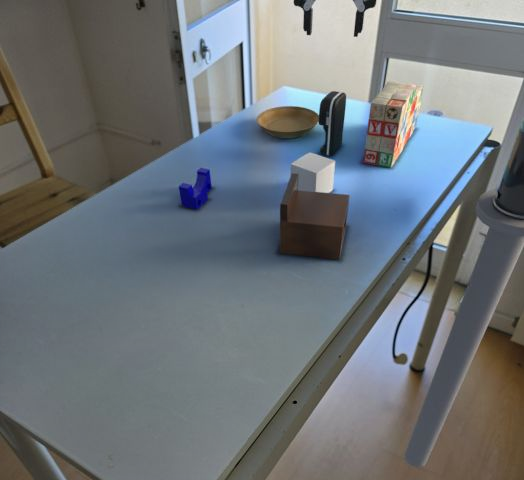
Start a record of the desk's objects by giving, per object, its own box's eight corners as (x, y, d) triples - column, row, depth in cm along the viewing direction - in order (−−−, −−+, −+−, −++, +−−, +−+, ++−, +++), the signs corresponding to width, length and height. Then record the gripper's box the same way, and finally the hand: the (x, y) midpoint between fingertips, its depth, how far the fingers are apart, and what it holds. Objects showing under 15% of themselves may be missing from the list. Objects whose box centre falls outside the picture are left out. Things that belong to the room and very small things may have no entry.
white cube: (290, 193, 93) (290, 163, 89) (308, 181, 96) (309, 152, 92) (315, 203, 90) (316, 173, 86) (332, 190, 93) (335, 160, 89)
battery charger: (326, 141, 108) (330, 87, 100) (342, 144, 107) (347, 89, 98) (314, 154, 104) (317, 98, 96) (331, 157, 103) (335, 101, 94)
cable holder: (197, 209, 90) (194, 190, 87) (181, 205, 91) (178, 186, 88) (218, 190, 95) (216, 170, 92) (203, 186, 96) (200, 167, 93)
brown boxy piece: (346, 226, 85) (351, 177, 78) (339, 259, 78) (345, 210, 71) (291, 221, 86) (291, 173, 79) (280, 253, 80) (279, 203, 73)
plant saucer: (290, 148, 106) (290, 137, 104) (244, 131, 113) (243, 119, 111) (331, 127, 113) (332, 116, 111) (285, 112, 120) (285, 101, 118)
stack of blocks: (389, 124, 113) (399, 67, 104) (415, 128, 111) (427, 70, 102) (362, 163, 100) (370, 101, 91) (391, 168, 98) (402, 106, 89)
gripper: (292, -82, 73) (290, 39, 85) (386, -83, 71) (370, 42, 83) (299, -88, 78) (297, 28, 90) (387, -89, 76) (373, 30, 88)
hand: (332, 34), depth 86 cm, fingers open, 8 cm apart
